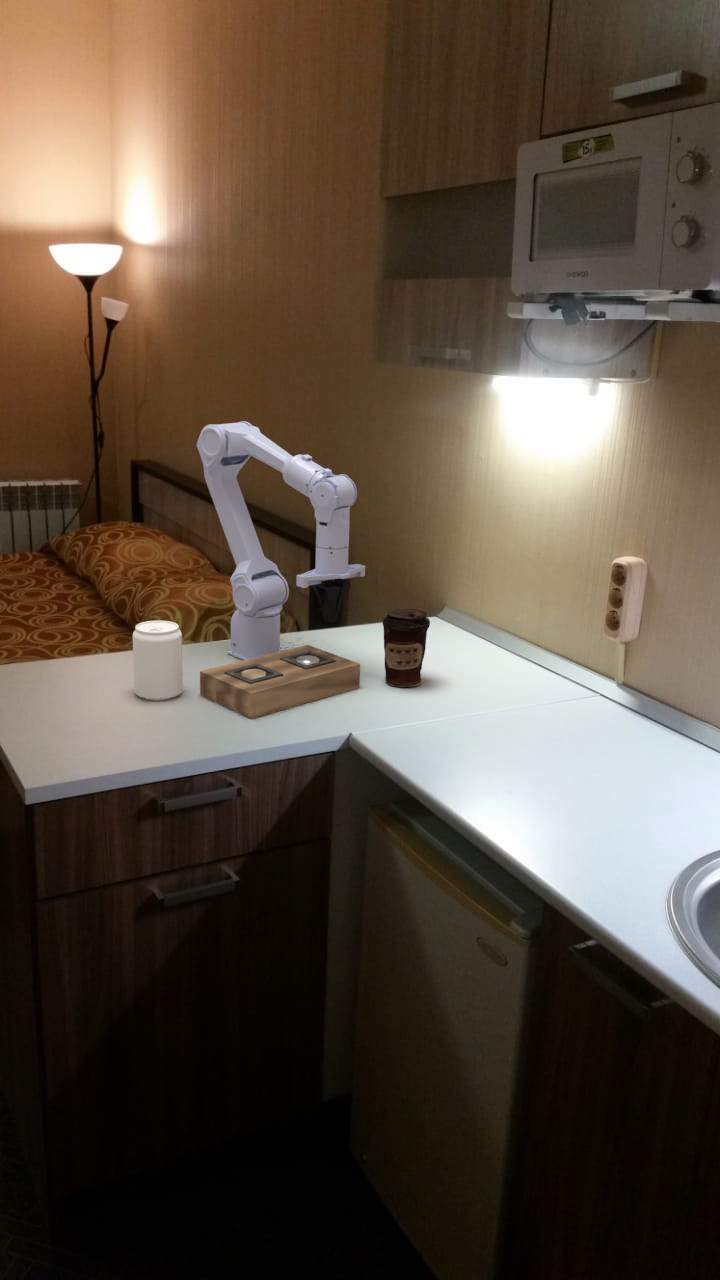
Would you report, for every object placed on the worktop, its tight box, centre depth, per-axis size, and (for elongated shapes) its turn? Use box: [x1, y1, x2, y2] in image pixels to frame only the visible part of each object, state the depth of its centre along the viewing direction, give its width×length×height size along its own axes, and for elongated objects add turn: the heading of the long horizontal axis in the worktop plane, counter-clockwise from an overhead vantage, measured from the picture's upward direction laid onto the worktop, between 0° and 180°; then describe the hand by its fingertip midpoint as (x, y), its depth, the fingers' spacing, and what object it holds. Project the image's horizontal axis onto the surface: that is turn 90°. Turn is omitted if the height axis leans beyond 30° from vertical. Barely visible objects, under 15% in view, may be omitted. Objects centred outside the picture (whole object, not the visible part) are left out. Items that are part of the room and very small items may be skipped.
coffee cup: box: [382, 608, 431, 688], centre depth 192 cm, size 9×8×13 cm
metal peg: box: [297, 656, 319, 665], centre depth 191 cm, size 4×4×4 cm
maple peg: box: [242, 669, 266, 680], centre depth 183 cm, size 4×4×4 cm
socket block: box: [199, 644, 361, 720], centre depth 187 cm, size 14×24×5 cm, turn 134°
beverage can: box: [132, 620, 184, 701], centre depth 183 cm, size 8×8×12 cm
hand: (330, 620), depth 193 cm, fingers closed
